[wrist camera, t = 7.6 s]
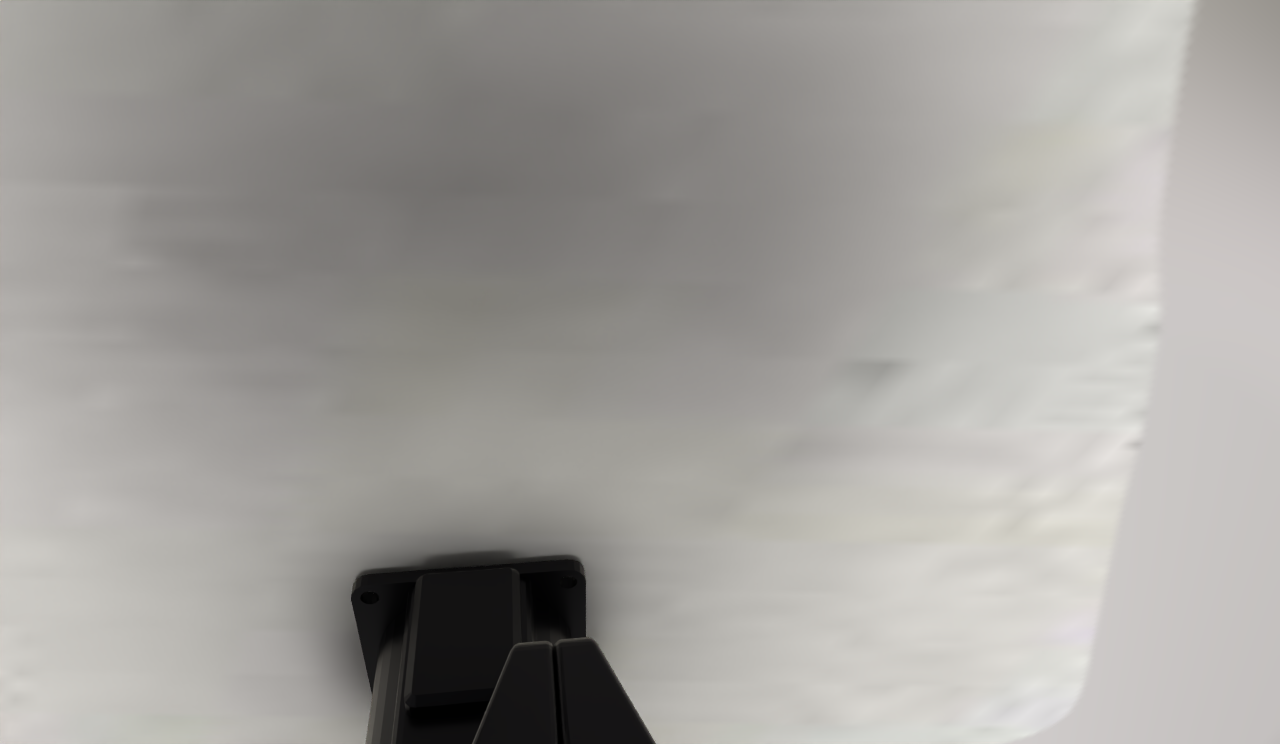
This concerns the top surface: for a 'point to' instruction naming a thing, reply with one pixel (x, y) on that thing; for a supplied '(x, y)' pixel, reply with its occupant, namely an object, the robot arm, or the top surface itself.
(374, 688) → the robot arm
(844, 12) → the top surface
